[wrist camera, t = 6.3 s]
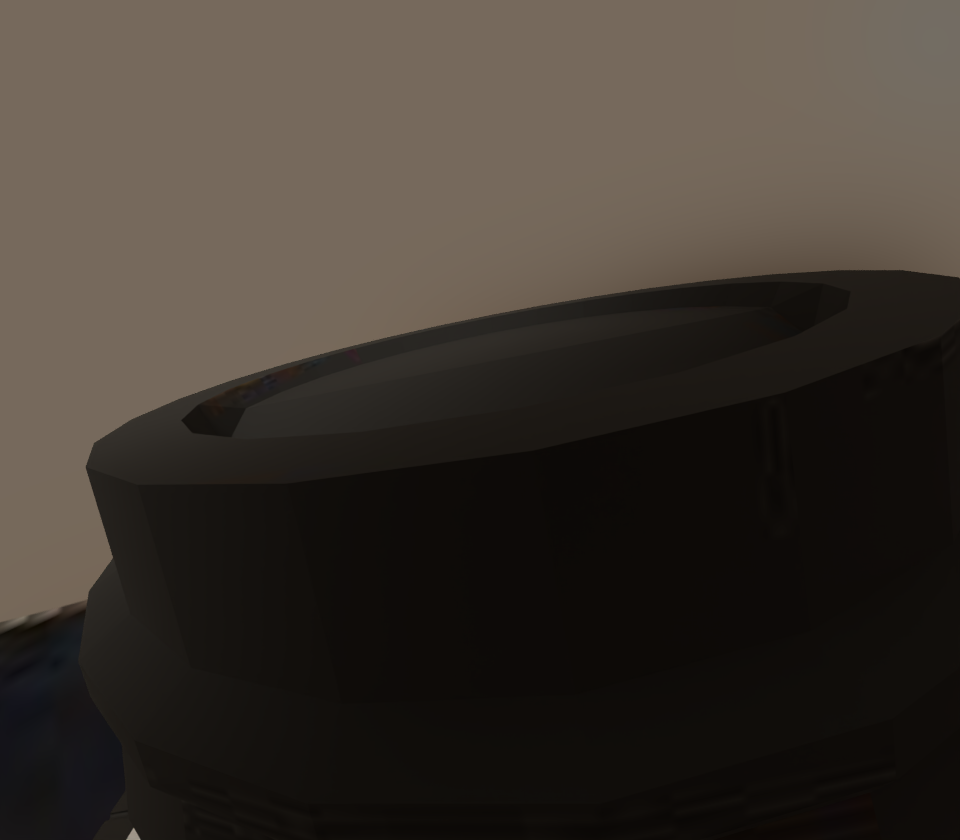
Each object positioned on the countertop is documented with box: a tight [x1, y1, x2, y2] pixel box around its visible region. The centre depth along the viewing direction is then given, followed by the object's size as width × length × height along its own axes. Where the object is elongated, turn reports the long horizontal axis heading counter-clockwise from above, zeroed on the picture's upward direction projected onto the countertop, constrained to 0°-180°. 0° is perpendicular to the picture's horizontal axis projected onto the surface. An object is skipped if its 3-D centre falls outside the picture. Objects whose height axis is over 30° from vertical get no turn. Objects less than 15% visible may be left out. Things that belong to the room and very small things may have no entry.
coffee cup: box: [78, 270, 960, 840], centre depth 7 cm, size 8×8×15 cm
